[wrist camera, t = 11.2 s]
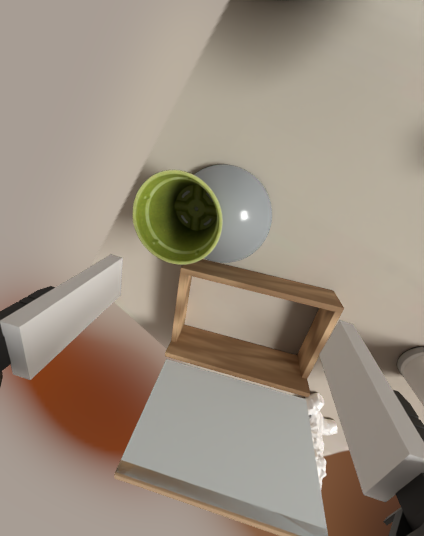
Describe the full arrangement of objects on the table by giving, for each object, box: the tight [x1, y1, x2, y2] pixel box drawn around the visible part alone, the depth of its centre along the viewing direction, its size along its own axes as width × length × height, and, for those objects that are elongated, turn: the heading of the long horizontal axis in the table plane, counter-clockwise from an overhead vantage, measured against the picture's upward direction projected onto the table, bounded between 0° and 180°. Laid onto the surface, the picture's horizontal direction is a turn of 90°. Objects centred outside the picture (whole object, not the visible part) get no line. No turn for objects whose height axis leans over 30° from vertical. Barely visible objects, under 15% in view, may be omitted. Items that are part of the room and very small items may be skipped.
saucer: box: [181, 165, 272, 263], centre depth 31 cm, size 13×13×1 cm
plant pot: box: [132, 170, 223, 265], centre depth 27 cm, size 9×9×9 cm
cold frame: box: [165, 259, 344, 397], centre depth 34 cm, size 14×22×7 cm, turn 80°
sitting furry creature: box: [304, 393, 337, 489], centre depth 38 cm, size 10×9×12 cm
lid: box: [114, 359, 328, 536], centre depth 27 cm, size 14×21×1 cm
